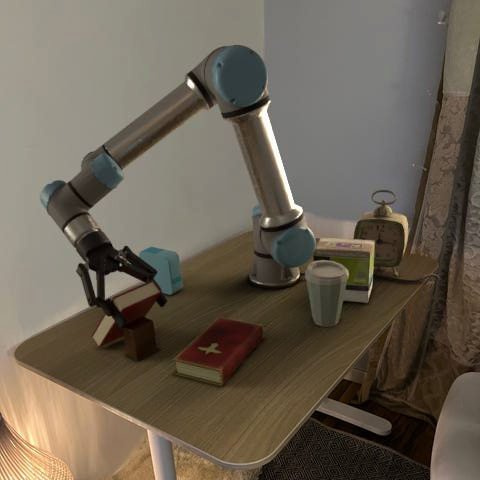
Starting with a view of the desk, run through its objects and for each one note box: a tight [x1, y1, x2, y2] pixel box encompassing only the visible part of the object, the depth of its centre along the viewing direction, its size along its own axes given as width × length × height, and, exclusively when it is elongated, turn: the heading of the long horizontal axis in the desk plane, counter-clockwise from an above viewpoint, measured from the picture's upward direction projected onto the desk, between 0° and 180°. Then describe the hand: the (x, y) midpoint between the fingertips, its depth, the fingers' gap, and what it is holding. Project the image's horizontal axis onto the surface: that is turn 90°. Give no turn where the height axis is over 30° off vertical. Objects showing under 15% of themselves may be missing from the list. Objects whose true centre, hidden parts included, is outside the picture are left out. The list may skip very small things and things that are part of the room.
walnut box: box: [123, 316, 159, 362], centre depth 121 cm, size 4×6×8 cm, turn 138°
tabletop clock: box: [353, 189, 409, 278], centre depth 151 cm, size 14×9×25 cm, turn 67°
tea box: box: [312, 237, 375, 304], centre depth 141 cm, size 15×10×15 cm, turn 70°
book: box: [91, 280, 163, 349], centre depth 121 cm, size 20×11×4 cm
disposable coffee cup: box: [304, 260, 349, 327], centre depth 128 cm, size 11×11×15 cm
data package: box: [138, 246, 184, 296], centre depth 152 cm, size 12×4×12 cm, turn 55°
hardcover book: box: [172, 316, 265, 387], centre depth 119 cm, size 12×21×4 cm, turn 153°
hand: (144, 314), depth 116 cm, fingers closed on book, 11 cm apart
